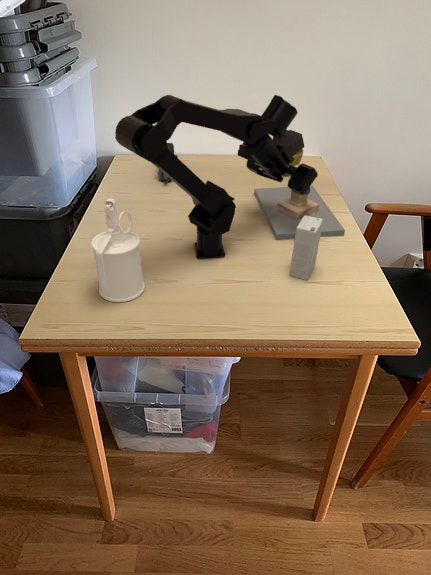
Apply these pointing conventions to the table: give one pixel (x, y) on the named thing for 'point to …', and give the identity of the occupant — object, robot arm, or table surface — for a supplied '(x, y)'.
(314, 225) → the skincare box
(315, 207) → the wooden block tower
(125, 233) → the smoke grenade
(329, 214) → the board
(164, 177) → the caster wheel
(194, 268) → the table surface
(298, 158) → the flower pot
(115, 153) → the table surface
